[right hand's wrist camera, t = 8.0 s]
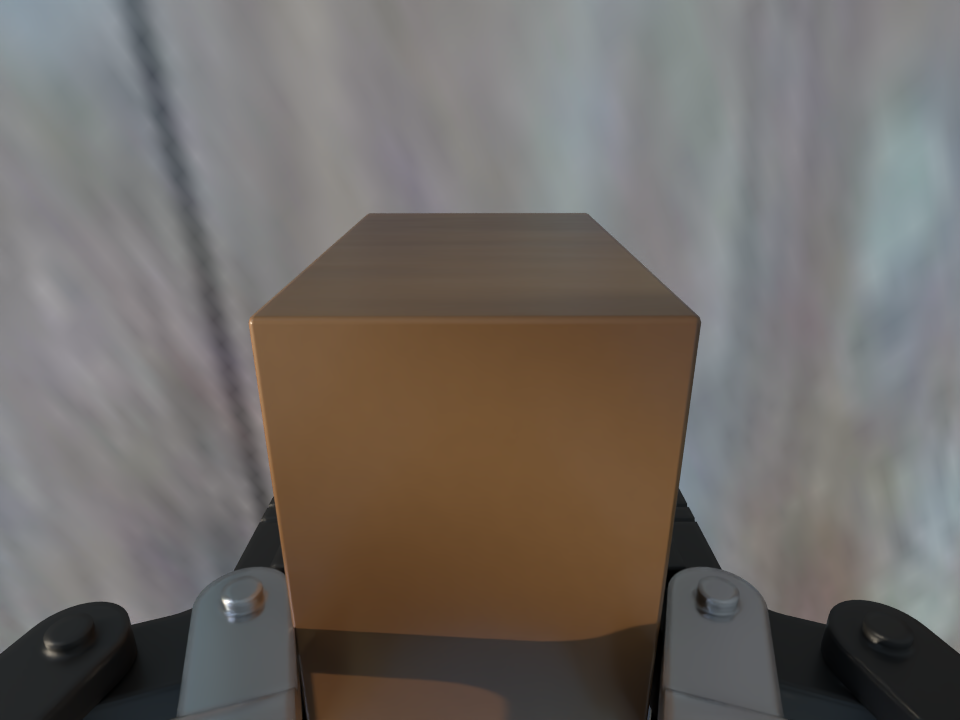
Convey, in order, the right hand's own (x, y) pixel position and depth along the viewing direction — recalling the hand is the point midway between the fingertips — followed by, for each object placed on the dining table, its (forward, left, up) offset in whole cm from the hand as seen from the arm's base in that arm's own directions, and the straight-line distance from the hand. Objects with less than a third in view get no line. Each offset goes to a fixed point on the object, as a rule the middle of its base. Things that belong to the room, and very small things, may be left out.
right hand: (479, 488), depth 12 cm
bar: (+27, +19, -2) cm, 33 cm away
